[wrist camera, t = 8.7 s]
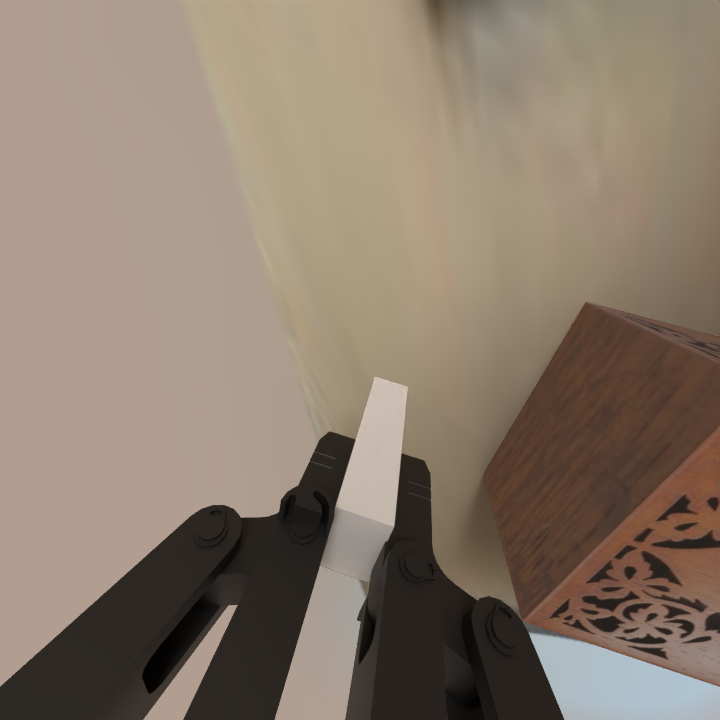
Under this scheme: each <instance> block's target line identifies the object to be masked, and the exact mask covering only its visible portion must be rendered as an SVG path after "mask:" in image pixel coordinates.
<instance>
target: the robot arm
mask: <svg viewBox="0 0 720 720" xmlns="http://www.w3.org/2000/svg"><path fill="white" fill-rule="evenodd" d="M407 388H408V387H407V386H404V385H401V384H397V383H394V382H391V381H387V380H384V379H381V378H378V377H375V378H374V382H373V385H372V388H371V391H370V395H369V398H368V401H367V405H366V408H365V411H364V414H363V418H362V421H361V424H360V428H359V431H358V434H357V438H356V440H355V439H352V438H349V437H346V436H343V435H339V434H336V433H333V432H328V433H327V434H326V435H325V436H323V437H322V438H321V439H320V440H319V442H318V444H317V447H316V449H315V451H314V453H313V455H312V457H311V459H310V462H309V464H308V466H307V468H306V470H305V472H304V474H303V477H302V479H301V481H300V483H299V485H298V486H296V487H295V488H293V489H291V490H290V491H288V492H287V493H286V494H285V496H284V497H283V498H282V500H281V504H280V511H279V513H277V514H274V515H271V516H269V517H261V518H240V516H239V515H238V513H237V512H236V511H235V510H234V509H233V508H230V507H227V506H225V505H212V506H209V507H206V508H203V509H201V510H199V511H198V512H196V513H195V514H193V515H192V516H190V517H189V518H188V519H187V520H186V521H185V522H184V523H183V524H182V525H180V526H179V527H178V528H177V529H176V530H175V531H174V532H173V533H171V534H170V535H169V536H168V537H167V538H166V539H165V540H164V541H162V542H161V543H160V544H159V545H158V546H157V547H156V548H155V549H154V550H152V551H151V552H150V553H149V554H148V555H147V556H146V557H145V558H143V559H142V561H140V562H139V563H138V564H137V565H136V566H135V567H133V568H132V570H130V571H129V572H128V573H127V574H126V575H124V577H122V578H121V579H120V580H119V581H118V582H117V583H116V584H115V585H113V586H112V587H111V588H110V589H109V590H108V591H107V592H106V593H104V594H103V595H102V596H101V597H100V598H99V599H98V600H97V601H95V602H94V603H93V604H92V605H91V606H90V607H89V608H88V609H87V610H85V611H84V612H83V613H82V614H81V615H80V616H79V617H78V618H76V619H75V620H74V621H73V622H72V623H71V624H70V625H69V626H68V627H66V628H65V629H64V630H63V631H62V632H61V633H60V634H59V635H58V636H56V637H55V638H54V639H53V640H52V641H51V642H50V643H49V644H48V645H46V646H45V647H44V648H43V649H42V650H41V651H40V652H38V653H37V654H36V655H35V656H34V657H33V658H32V659H31V660H30V661H28V662H27V663H26V664H25V665H24V666H23V667H22V668H21V669H20V670H18V671H17V672H16V673H15V674H14V675H13V676H12V677H11V678H9V679H8V680H7V681H6V682H5V683H4V684H3V685H2V686H1V687H0V720H143V719H144V718H145V716H146V715H147V714H148V712H149V711H150V710H151V708H152V707H153V706H154V704H155V703H156V702H157V700H158V699H159V698H160V696H161V695H162V694H163V692H164V691H165V690H166V688H167V687H168V686H169V684H170V683H171V681H172V680H173V679H174V677H175V676H176V675H177V673H178V672H179V671H180V669H181V668H182V667H183V665H184V664H185V662H186V661H187V660H188V659H189V657H190V656H191V655H192V653H193V652H194V651H195V649H196V648H197V647H198V645H199V644H200V643H201V641H202V640H203V639H204V637H205V636H206V635H207V633H208V632H209V631H210V629H211V628H212V626H213V625H214V624H215V622H216V621H217V620H218V618H219V617H220V616H221V614H222V613H223V612H224V610H225V609H226V608H227V606H228V605H238V606H237V608H236V610H235V612H234V614H233V616H232V619H231V621H230V623H229V625H228V627H227V629H226V631H225V633H224V635H223V637H222V640H221V642H220V644H219V646H218V648H217V650H216V652H215V655H214V656H213V658H212V660H211V663H210V665H209V667H208V669H207V671H206V673H205V675H204V677H203V679H202V682H201V684H200V686H199V688H198V690H197V692H196V694H195V696H194V698H193V700H192V703H191V705H190V707H189V709H188V711H187V713H186V715H185V717H184V719H183V720H274V719H275V716H276V713H277V709H278V706H279V702H280V699H281V695H282V692H283V689H284V685H285V682H286V679H287V675H288V672H289V668H290V665H291V662H292V658H293V655H294V652H295V648H296V645H297V641H298V638H299V634H300V631H301V627H302V624H303V621H304V618H305V614H306V611H307V607H308V604H309V600H310V597H311V594H312V590H313V587H314V583H315V580H316V577H317V573H318V570H319V567H320V566H322V567H325V568H328V569H331V570H334V571H337V572H340V573H342V574H345V575H348V576H351V577H354V578H356V579H359V580H362V581H365V582H368V581H369V579H370V577H371V580H370V586H369V593H368V596H367V598H366V600H365V602H364V604H363V606H362V608H361V610H360V612H359V615H358V618H357V620H358V621H361V624H360V630H359V637H358V643H357V649H356V656H355V662H354V668H353V675H352V681H351V688H350V694H349V700H348V706H347V713H346V719H345V720H564V718H563V715H562V713H561V710H560V708H559V706H558V704H557V701H556V698H555V696H554V693H553V691H552V689H551V686H550V684H549V681H548V679H547V677H546V674H545V672H544V669H543V667H542V665H541V662H540V660H539V657H538V655H537V652H536V650H535V648H534V645H533V643H532V641H531V638H530V635H529V633H528V631H527V630H526V628H525V626H524V624H523V622H522V620H521V619H520V618H519V617H518V616H517V614H516V613H515V612H514V611H513V610H512V609H511V607H509V606H508V605H506V604H505V603H504V602H502V601H501V600H499V599H496V598H492V597H489V596H488V597H484V598H480V599H479V600H478V601H477V600H476V599H474V598H473V597H472V596H470V595H469V594H468V593H466V592H465V591H463V590H462V589H461V588H459V587H458V586H457V585H455V584H454V583H453V582H452V581H451V580H450V579H448V578H447V577H446V575H445V574H444V573H443V572H442V570H441V569H440V567H439V565H438V564H437V562H436V559H435V556H434V554H433V548H432V522H431V501H430V500H431V490H430V488H431V481H430V472H429V470H428V468H427V466H426V463H425V461H423V460H420V459H417V458H414V457H411V456H408V455H405V454H402V453H401V451H402V441H403V430H404V420H405V409H406V399H407Z"/></svg>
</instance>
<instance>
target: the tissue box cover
mask: <svg viewBox="0 0 720 720" xmlns="http://www.w3.org/2000/svg"><path fill="white" fill-rule="evenodd" d="M484 477H485V481H486V485H487V489H488V493H489V496H490V500H491V504H492V508H493V512H494V515H495V519H496V523H497V527H498V531H499V534H500V538H501V542H502V546H503V550H504V553H505V557H506V561H507V565H508V568H509V572H510V576H511V580H512V584H513V587H514V591H515V595H516V599H517V603H518V606H519V610H520V614H521V618H522V621H525V622H528V623H531V624H534V625H537V626H540V627H543V628H546V629H549V630H552V631H555V632H558V633H561V634H564V635H567V636H569V637H572V638H575V639H578V640H581V641H584V642H587V643H590V644H593V645H596V646H599V647H602V648H605V649H608V650H611V651H615V652H617V653H620V654H623V655H627V656H629V657H632V658H635V659H638V660H641V661H644V662H647V663H650V664H653V665H656V666H660V667H662V668H665V669H668V670H671V671H674V672H677V673H680V674H684V675H687V676H689V677H692V678H695V679H698V680H701V681H704V682H707V683H710V684H713V685H716V686H719V687H720V337H716V336H713V335H709V334H705V333H701V332H698V331H694V330H690V329H686V328H682V327H679V326H675V325H671V324H667V323H664V322H660V321H656V320H652V319H648V318H645V317H641V316H637V315H633V314H630V313H626V312H622V311H618V310H615V309H611V308H607V307H603V306H599V305H596V304H592V303H588V302H586V303H585V305H584V306H583V308H582V310H581V311H580V313H579V315H578V316H577V318H576V320H575V321H574V323H573V325H572V326H571V328H570V330H569V331H568V333H567V335H566V337H565V338H564V340H563V342H562V343H561V345H560V347H559V348H558V350H557V352H556V353H555V355H554V357H553V358H552V360H551V362H550V363H549V365H548V367H547V368H546V370H545V372H544V373H543V375H542V377H541V378H540V380H539V382H538V383H537V385H536V387H535V388H534V390H533V392H532V394H531V395H530V397H529V399H528V400H527V402H526V404H525V405H524V407H523V409H522V410H521V412H520V414H519V415H518V417H517V419H516V420H515V422H514V424H513V425H512V427H511V429H510V430H509V432H508V434H507V435H506V437H505V439H504V440H503V442H502V444H501V445H500V447H499V449H498V450H497V452H496V454H495V455H494V457H493V459H492V461H491V462H490V464H489V466H488V467H487V469H486V471H485V472H484Z"/></svg>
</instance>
